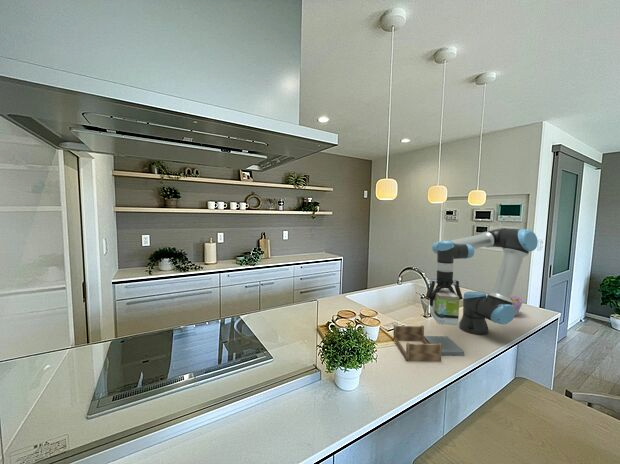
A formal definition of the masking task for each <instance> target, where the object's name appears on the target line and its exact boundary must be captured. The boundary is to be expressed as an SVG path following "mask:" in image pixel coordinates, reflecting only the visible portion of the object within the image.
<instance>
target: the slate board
mask: <svg viewBox="0 0 620 464" xmlns="http://www.w3.org/2000/svg"><path fill="white" fill-rule="evenodd" d="M424 338H425V340H426V341H427V342H428V343H429V344H438V343H441V344H442V354H441V357H443V356H446V357H447V356H448V357H449V356H452V357H455V356H457V357H459V356H461V357H464V356H465V351H464V350H463V349H462V348H461V347H460V346H459V345H457V344H456V343H455V342H454V341H453V340H452V339H451V338H450V337H449V336H446V335H424Z"/></svg>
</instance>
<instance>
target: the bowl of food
mask: <svg viewBox="0 0 620 464" xmlns="http://www.w3.org/2000/svg"><path fill="white" fill-rule="evenodd" d="M510 299H511V301H512V302H513V303H512V306H513V307H514V309H515V315H516V314H518V313H520V310H521V307H522V305H523V302H524V300H523V299H522V298H520V297H517V296H515V295H511V298H510Z"/></svg>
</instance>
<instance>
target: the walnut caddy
mask: <svg viewBox="0 0 620 464" xmlns="http://www.w3.org/2000/svg"><path fill="white" fill-rule="evenodd" d="M392 332H393V337H392V338H393V339H394V340H395V342H396V343H395V342H394V343H395V345H396V346H397V348H398V350H399V351H400V353H401V354H402V355H403V357H404V359H405V361H406V362H442V356H441V354H442V344H441V343H438V344H429V343H428V342H427V341H426V340H425V338H424V336H425V326H424V325H415V326H414V325H396V324H394V325H393V331H392ZM393 339H392V340H393ZM394 340H393V341H394ZM401 342H406V343H405V344H406V345H405V347H403V345H402V344H401ZM409 342H421V343H409Z"/></svg>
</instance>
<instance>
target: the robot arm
mask: <svg viewBox="0 0 620 464" xmlns="http://www.w3.org/2000/svg"><path fill="white" fill-rule="evenodd" d="M538 240H539V239H538V236H537V235H536V233H535V232H534V231H532V230H530V229H524V228H505V227H504V228H497V229H492V230H487V231H482V233H480V234H476V235H471V236H466V237H461V238H457V239H452V240H439V241H436V242H434V243H433V244H432V251H433V253H434V254H436V260H437V261H436V279H435V280H433V279H430V281H429V282H430V283H429V284H430V285H429V286H428V289H427V291H426V295H425V298H427V300H429V303H428V304H429V306H431V311H432V312H433V313H435V300H434V298H435V296H436V293H438V292H439V291H440V290H441V289H449V290H450V292H452V293H455V294H456V295H458V296H459V302H460V301H461V300H463V302H462V317H461V319H460V321H459V322H458V326H459V327H458V328H459V329H461V331H464V332H466V333H468V334H472V335H478V336H483V335H485V336H486V335H488V334H489V327H488V323H487V320H488V321H491V322H493V323H495V324H499V325H508V324H510V322H512V321H513V319H514V318H515V316H516V314H515V309H514V307H513V306H512V303H513V302H512V301H511V299H510V298H511V296H513V295H512V294H513V291H514V288H515V284H516V282H517V278H518V276H519V273H520V270H521V266H522V264H523V260H524V258H525V257H528V255H529V253H530V252H533V251H535V250H536V249H537V247H538V242H539V241H538ZM484 247H485V248H492V247H493V248H502V251H503V252H504V253H503V254H504V255H503V256H502V260H501V264H500V265H499V269H498V272H497V275H496V279H495V281H494V285H493V288H492V291H491V292H490V293H487V294H486V293H485V292H482V291H481V292H480V291H466V292H464V293H463V295H462V291H461V288H460V281H458V280H457V279H454V272H453V271H454V261H455V259H457V260H460V259H461V260H463V259H464V260H465V259H471V258H473V257H474V255H475V249H480V248H484ZM452 285H453V286H454V288H453V286H452ZM434 288H435V290H434V291H433V289H434ZM454 289H455V290H454ZM432 292H433V293H432Z"/></svg>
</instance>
